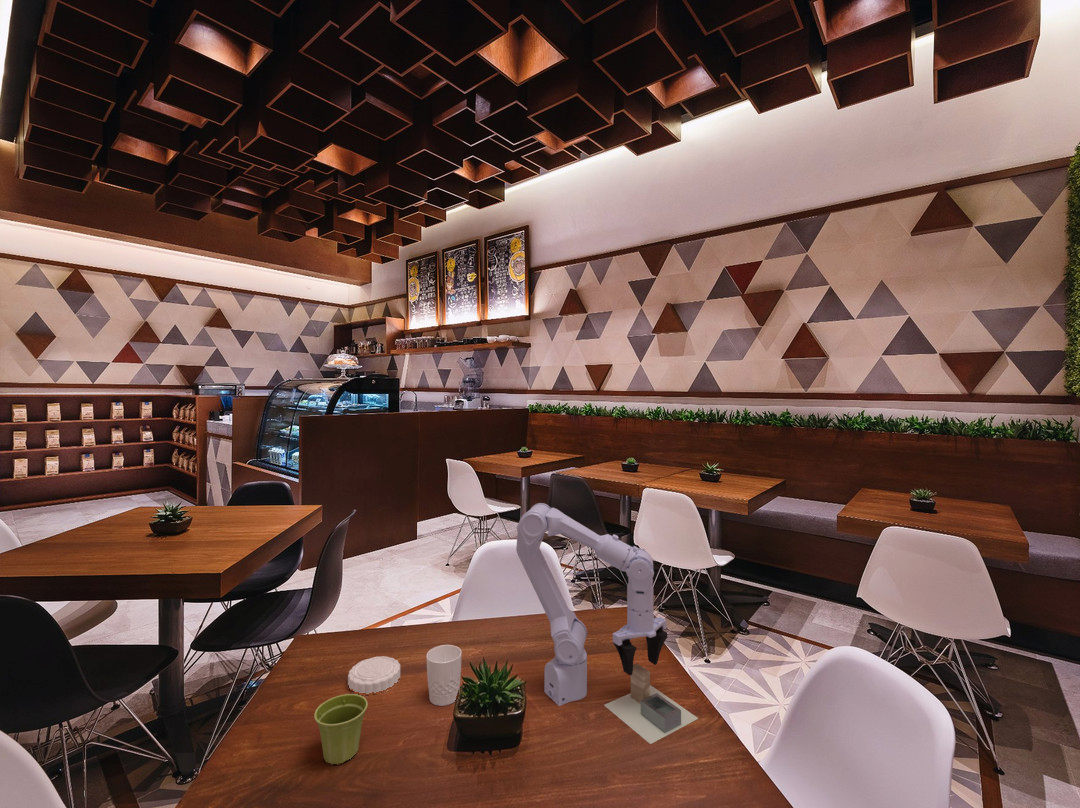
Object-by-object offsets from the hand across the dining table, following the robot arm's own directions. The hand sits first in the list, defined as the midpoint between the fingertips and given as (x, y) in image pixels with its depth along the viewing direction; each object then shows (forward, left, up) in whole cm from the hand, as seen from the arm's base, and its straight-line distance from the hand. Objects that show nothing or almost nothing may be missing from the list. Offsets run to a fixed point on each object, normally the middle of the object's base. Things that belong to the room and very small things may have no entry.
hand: (640, 667), depth 105 cm
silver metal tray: (-1, -7, -8) cm, 11 cm away
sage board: (-1, -4, -8) cm, 9 cm away
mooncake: (-48, +41, -9) cm, 64 cm away
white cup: (-36, +26, -9) cm, 45 cm away
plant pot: (-59, +20, -9) cm, 63 cm away
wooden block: (0, 0, -7) cm, 7 cm away
